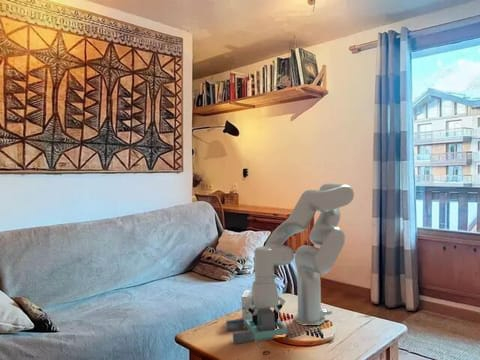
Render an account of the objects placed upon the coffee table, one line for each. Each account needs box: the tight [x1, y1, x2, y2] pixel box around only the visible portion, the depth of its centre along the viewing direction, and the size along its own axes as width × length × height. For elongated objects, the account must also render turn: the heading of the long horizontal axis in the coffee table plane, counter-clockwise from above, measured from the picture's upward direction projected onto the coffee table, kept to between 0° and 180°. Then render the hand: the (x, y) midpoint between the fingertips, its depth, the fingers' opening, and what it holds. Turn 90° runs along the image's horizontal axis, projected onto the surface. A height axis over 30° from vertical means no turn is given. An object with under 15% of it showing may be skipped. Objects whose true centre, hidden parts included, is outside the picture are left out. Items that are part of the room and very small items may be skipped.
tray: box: [244, 318, 288, 343], centre depth 154 cm, size 13×13×3 cm
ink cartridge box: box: [241, 289, 254, 325], centre depth 166 cm, size 9×5×15 cm, turn 168°
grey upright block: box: [256, 308, 275, 332], centre depth 154 cm, size 5×8×8 cm, turn 14°
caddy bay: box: [225, 318, 253, 345], centre depth 152 cm, size 7×12×4 cm, turn 14°
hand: (265, 322), depth 154 cm, fingers open, 7 cm apart
